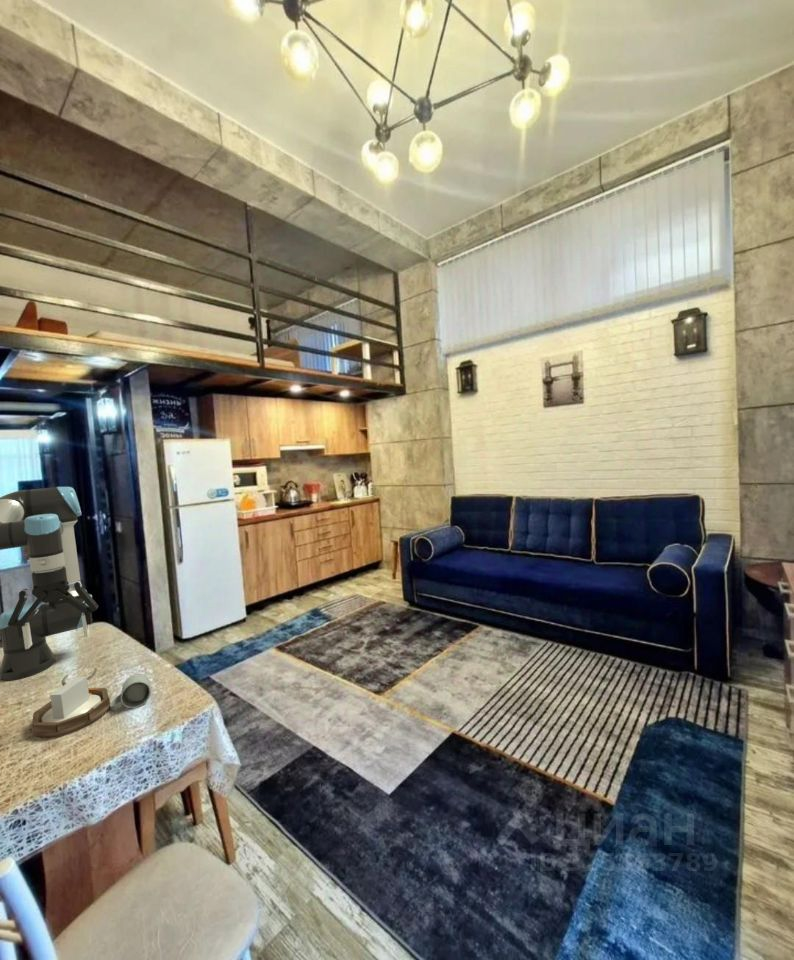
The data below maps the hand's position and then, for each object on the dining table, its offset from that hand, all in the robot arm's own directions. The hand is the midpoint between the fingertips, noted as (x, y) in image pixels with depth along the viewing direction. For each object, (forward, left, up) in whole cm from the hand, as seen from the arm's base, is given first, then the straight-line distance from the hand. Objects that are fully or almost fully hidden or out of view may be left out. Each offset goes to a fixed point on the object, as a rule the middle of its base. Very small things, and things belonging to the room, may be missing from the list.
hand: (58, 641), depth 122 cm
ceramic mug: (+7, +15, -23) cm, 28 cm away
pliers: (-20, +3, -23) cm, 31 cm away
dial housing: (+2, +1, -23) cm, 23 cm away
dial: (+2, +1, -21) cm, 21 cm away
